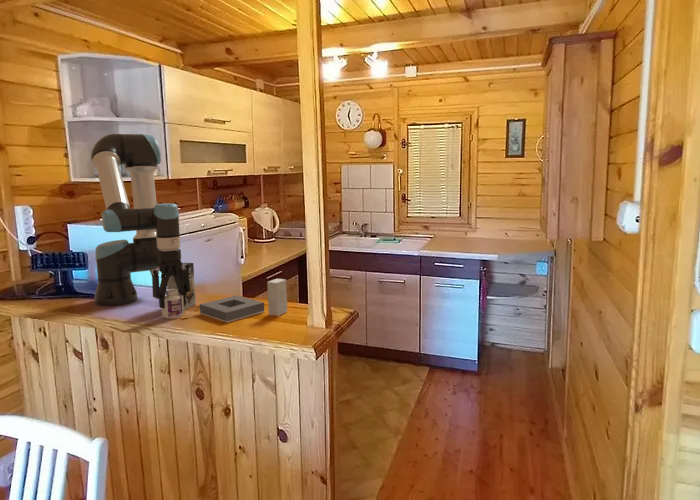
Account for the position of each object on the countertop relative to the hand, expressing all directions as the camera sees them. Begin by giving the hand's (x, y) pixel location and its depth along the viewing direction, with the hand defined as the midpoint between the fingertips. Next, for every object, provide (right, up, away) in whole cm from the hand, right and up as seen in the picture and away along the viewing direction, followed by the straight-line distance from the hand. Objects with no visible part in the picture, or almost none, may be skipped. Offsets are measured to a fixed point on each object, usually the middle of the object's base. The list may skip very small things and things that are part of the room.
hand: (173, 314), depth 171 cm
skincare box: (+36, 0, +4) cm, 36 cm away
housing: (+19, 0, +4) cm, 20 cm away
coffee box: (-1, +1, +13) cm, 13 cm away
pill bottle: (0, -1, 0) cm, 1 cm away
